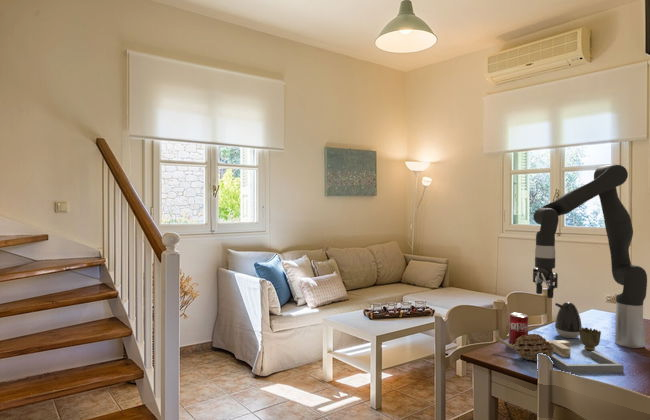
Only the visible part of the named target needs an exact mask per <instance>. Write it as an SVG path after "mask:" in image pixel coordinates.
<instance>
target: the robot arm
mask: <svg viewBox="0 0 650 420" xmlns="http://www.w3.org/2000/svg"><path fill="white" fill-rule="evenodd" d="M628 174H629V173H628V169H626V167H625V166H623V165H621V164H617V163H615V164H607V165H602V166H599V167H597V168H596V169H595V171H594V173H593V180H591V181H589V182H588V183H585V184H583V185H581V186H579V187H576V188H574V189H572V190H570V191H568V192H566V193H565V194H562V196H560V197H558V198H557V199H555V200H554V201H551V202H550V203H547V204H545V205H543V206H541V207H539V208H537V209H536V210H535V211H534V213H533V221H534V222H535V223H536V224H537V225H540V227H539V228H540V229H539V231H537V232H536V233H535V250H534V268H533V269H532V282H533V283H534V284H535V285H536V286H535V287H536V289H535V292H536V293H535V294H537V295H542V294H543V283H544V284H545V285H546V288H547V289H546V297H547V298H548V299H553V298H554V291H555V290H554V289H558V278H559V277H558V273H557V272H553V269H555V268H556V233H557V230H558V225H559V220H560V219H559V218H560V217H559V216H563V215H567V214H569V213H570V212H572V211H574V210H575V209H577V208H578V207H580V206H582V205H583V204H586V203H587V202H589V201H590V200H591V199H593V198H595V197H597V196H598V198H599V200H600V201H599V202H600V207H601V212H602V215H603V221H604V227H605V232H606V236H607V241H608V247H609V252H610V264H611V274H612V278H613V280H614V281H615V283H617V284H618V285H621V286H622V287H623V288H622V292H621V293H618V294H617V295H616V296H615V331H614V333H615V335H614V343H615V344H616V345H618V346H621V347H625V348H633V349H640V348H645V346H646V323H645V322H644V301H645V299H646V297H647V289H648V288H647V287H648V274H647V272H646V270H645V268H643V267H641V266H640V265H635V264H632V262H631V258H630V252H629V249H630V246H631V242H632V239H633V235H634V228H633V224H632V219H631V215H630V214H629V211H628V210H627V209H626V207H625V206H624V204H623V203H622V201H621V200H620V198H619V195H618V189H617V187H619V186H621V185H624V184H625V182H626V181H627V179H628V176H629V175H628Z"/></svg>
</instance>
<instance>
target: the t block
mask: <svg viewBox="0 0 650 420" xmlns="http://www.w3.org/2000/svg"><path fill="white" fill-rule="evenodd" d="M546 341H547V342H549V343H551V346H552V347H553V348H554V350H553V352H554V353H556V354H557V355H560V357H565V358H566V357H571V342H570V341H568V340H564V339H561V340H558V339H557V340H555V339H553V340H552V339H551V340H550V339H549V340H548V339H547V340H546Z"/></svg>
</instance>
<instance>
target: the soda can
mask: <svg viewBox="0 0 650 420" xmlns="http://www.w3.org/2000/svg"><path fill="white" fill-rule="evenodd" d="M522 335H523V336H524V335H526V336H528V335H529V316H528V315H527V314H525V313H520V312H511V313H510V314H509V315H508V343H509V344H510V343H511V344H513V345H515V342H516V339H518V338H519V337H521V336H522Z"/></svg>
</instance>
